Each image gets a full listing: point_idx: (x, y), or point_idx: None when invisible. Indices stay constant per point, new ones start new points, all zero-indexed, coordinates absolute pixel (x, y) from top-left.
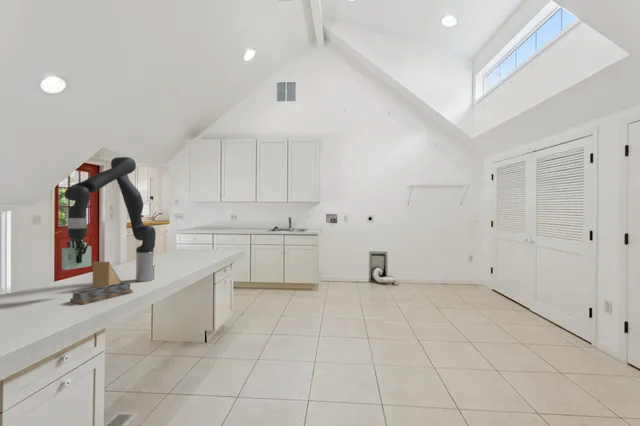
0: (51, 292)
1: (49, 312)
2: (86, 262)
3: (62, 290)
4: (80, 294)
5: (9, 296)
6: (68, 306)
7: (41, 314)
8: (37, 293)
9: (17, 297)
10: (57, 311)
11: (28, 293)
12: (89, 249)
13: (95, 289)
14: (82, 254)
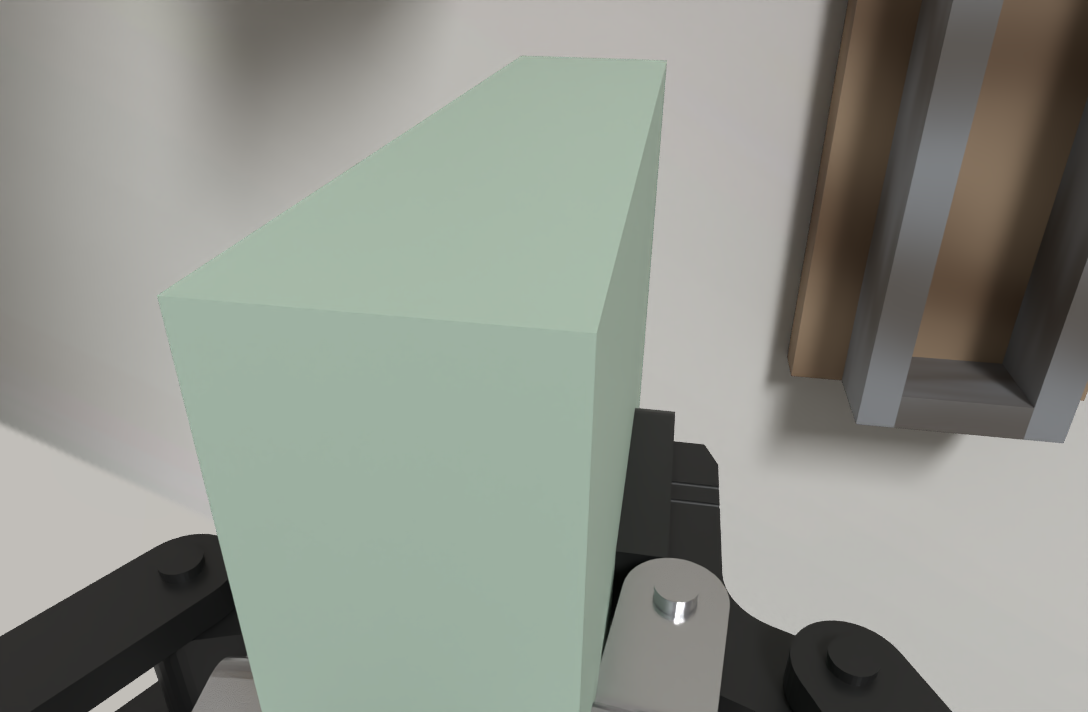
0: (142, 169)
1: (948, 629)
2: (649, 242)
3: (118, 38)
4: (1034, 438)
5: (51, 425)
6: (943, 471)
7: (935, 674)
8: (89, 262)
9: (144, 424)
10: (995, 597)
11: (27, 297)
12: (613, 356)
13: (964, 134)
14: (762, 625)
